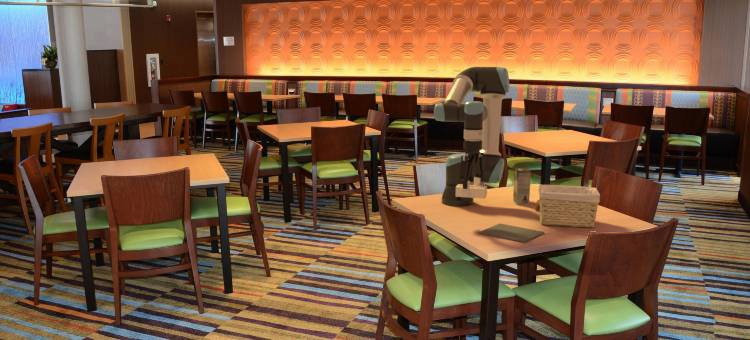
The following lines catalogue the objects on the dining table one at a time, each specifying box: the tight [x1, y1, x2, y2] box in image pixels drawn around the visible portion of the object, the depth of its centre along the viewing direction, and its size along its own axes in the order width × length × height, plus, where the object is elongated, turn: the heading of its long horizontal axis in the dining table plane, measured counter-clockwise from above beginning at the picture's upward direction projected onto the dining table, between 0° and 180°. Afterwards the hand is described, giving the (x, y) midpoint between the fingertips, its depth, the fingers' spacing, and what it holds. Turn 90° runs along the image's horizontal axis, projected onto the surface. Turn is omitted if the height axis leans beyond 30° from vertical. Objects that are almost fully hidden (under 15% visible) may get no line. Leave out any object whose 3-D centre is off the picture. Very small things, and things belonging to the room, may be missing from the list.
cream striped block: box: [456, 184, 488, 200], centre depth 269 cm, size 12×6×4 cm, turn 73°
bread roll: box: [534, 198, 540, 213], centre depth 297 cm, size 10×10×8 cm
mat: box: [478, 222, 545, 244], centre depth 260 cm, size 20×17×1 cm
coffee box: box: [512, 167, 532, 206], centre depth 311 cm, size 9×6×16 cm
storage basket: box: [538, 184, 601, 228], centre depth 275 cm, size 24×16×15 cm
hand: (471, 194), depth 269 cm, fingers closed on cream striped block, 8 cm apart
